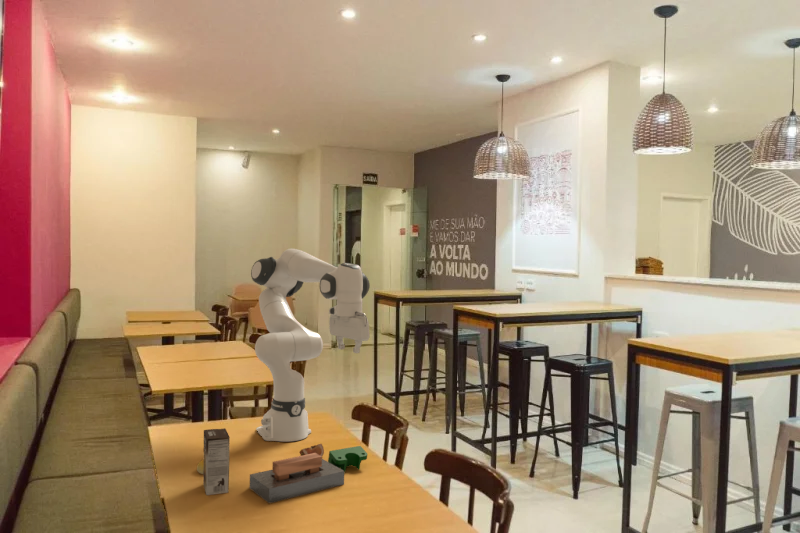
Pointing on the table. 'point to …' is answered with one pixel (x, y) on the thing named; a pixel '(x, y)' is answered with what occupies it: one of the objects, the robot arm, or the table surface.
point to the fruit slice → (313, 450)
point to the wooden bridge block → (296, 465)
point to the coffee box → (216, 461)
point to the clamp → (347, 457)
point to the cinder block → (295, 482)
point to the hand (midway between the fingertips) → (348, 351)
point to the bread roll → (200, 466)
